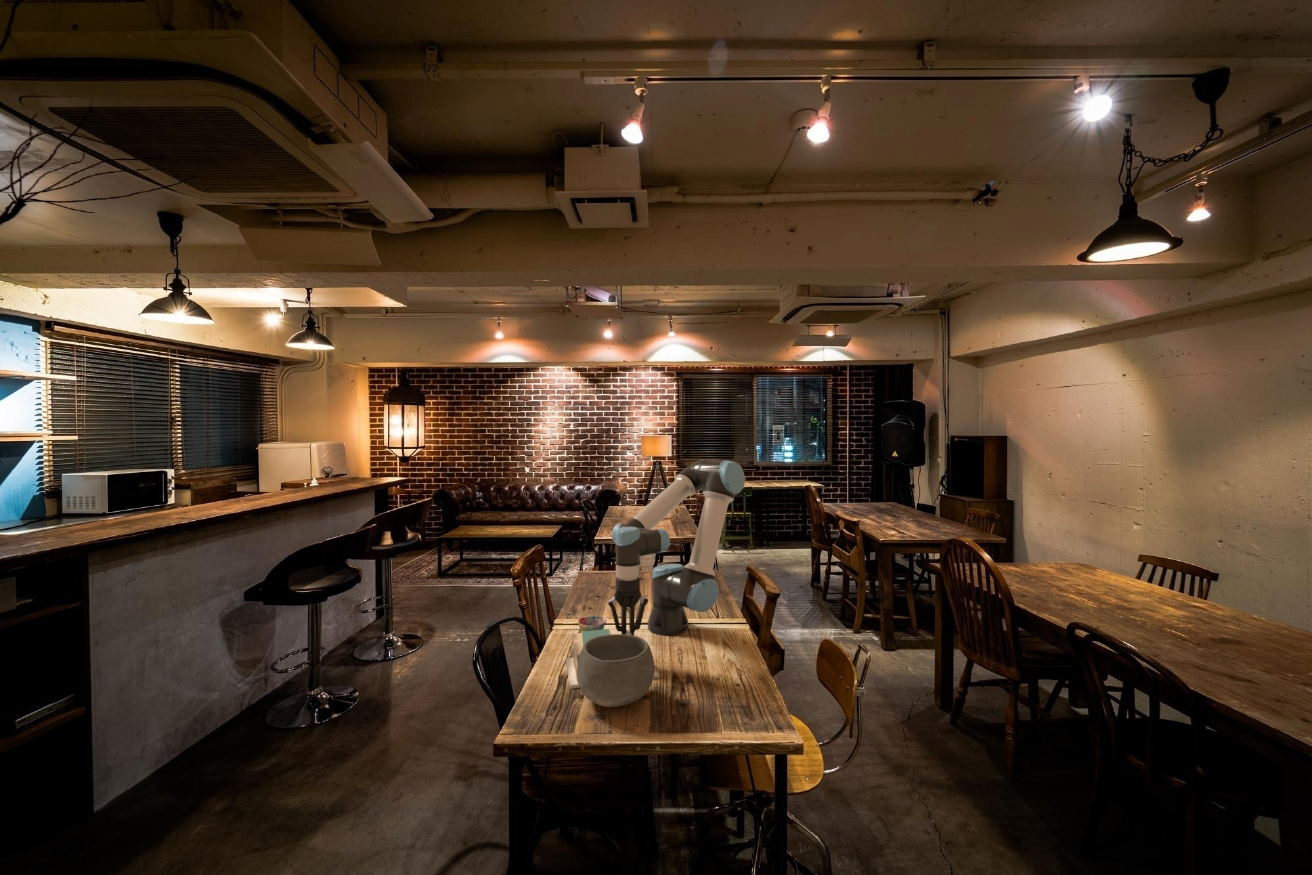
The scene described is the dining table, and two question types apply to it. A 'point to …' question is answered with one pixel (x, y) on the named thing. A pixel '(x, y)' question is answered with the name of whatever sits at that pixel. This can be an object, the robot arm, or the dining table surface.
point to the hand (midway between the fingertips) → (627, 651)
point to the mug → (591, 623)
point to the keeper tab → (593, 634)
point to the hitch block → (573, 662)
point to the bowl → (615, 669)
